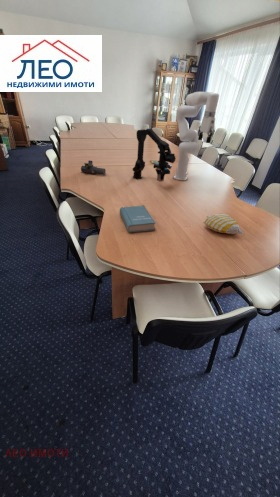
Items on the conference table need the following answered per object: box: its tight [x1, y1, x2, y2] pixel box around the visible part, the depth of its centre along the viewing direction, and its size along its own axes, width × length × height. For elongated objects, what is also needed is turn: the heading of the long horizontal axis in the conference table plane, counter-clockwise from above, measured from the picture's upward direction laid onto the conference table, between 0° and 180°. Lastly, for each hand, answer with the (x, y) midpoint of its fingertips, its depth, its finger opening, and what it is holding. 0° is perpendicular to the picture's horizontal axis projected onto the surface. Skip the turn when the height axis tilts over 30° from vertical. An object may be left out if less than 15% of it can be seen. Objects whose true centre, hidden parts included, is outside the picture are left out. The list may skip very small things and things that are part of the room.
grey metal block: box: [156, 173, 165, 183], centre depth 186 cm, size 5×4×5 cm
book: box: [119, 205, 156, 233], centre depth 136 cm, size 23×16×5 cm
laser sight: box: [80, 160, 107, 176], centre depth 201 cm, size 10×22×10 cm, turn 78°
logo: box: [150, 160, 170, 170], centre depth 239 cm, size 34×10×1 cm, turn 16°
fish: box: [203, 213, 245, 235], centre depth 133 cm, size 25×8×20 cm
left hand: (160, 179), depth 186 cm, fingers closed on grey metal block, 4 cm apart
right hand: (203, 141), depth 164 cm, fingers open, 9 cm apart
